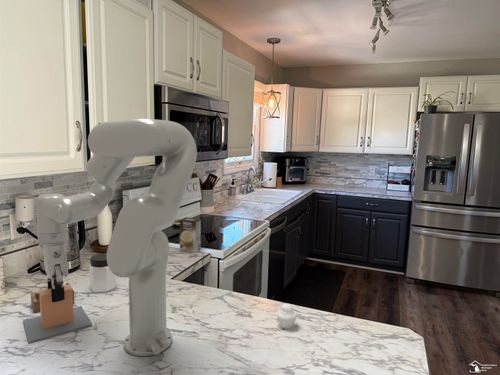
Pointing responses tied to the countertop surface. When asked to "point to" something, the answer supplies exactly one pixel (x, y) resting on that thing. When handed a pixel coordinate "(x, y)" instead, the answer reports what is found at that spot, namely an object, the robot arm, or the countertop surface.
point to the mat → (38, 333)
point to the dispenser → (36, 301)
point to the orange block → (56, 308)
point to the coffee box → (190, 234)
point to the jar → (101, 274)
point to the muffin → (286, 316)
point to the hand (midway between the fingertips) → (56, 296)
